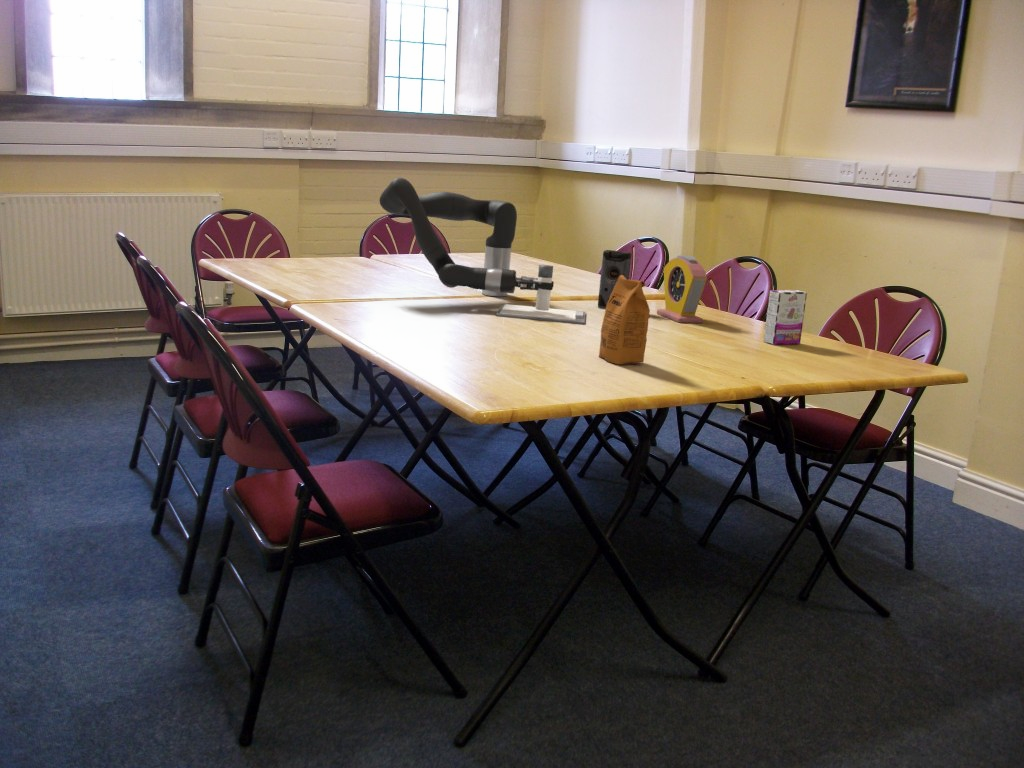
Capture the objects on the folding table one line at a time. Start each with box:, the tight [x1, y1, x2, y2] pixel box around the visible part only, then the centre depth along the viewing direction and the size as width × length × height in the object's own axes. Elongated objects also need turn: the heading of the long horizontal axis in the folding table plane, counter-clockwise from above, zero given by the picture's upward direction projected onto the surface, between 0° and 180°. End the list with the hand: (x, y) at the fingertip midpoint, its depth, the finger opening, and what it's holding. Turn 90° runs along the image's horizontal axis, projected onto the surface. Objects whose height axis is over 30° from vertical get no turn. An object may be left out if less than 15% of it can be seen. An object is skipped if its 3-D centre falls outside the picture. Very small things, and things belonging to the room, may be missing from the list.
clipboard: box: [495, 303, 586, 325], centre depth 318 cm, size 22×28×2 cm
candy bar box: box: [763, 289, 808, 346], centre depth 301 cm, size 11×5×16 cm, turn 117°
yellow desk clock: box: [656, 254, 708, 324], centre depth 331 cm, size 22×9×22 cm, turn 18°
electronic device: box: [597, 249, 632, 310], centre depth 341 cm, size 9×6×20 cm, turn 68°
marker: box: [535, 264, 554, 311], centre depth 316 cm, size 5×5×14 cm
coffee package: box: [598, 275, 651, 366], centre depth 254 cm, size 10×12×22 cm
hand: (552, 285), depth 316 cm, fingers closed on marker, 4 cm apart
